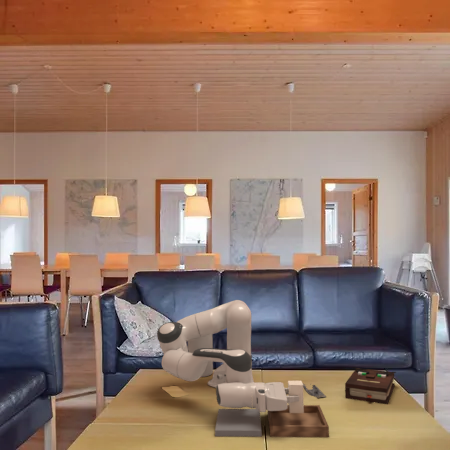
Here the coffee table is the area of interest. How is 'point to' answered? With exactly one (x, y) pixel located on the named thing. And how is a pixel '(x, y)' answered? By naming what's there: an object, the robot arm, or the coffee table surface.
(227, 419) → the board
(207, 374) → the cylinder vase
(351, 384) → the decorative book
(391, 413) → the coffee table surface
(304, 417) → the box
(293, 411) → the tall cream pillar block
